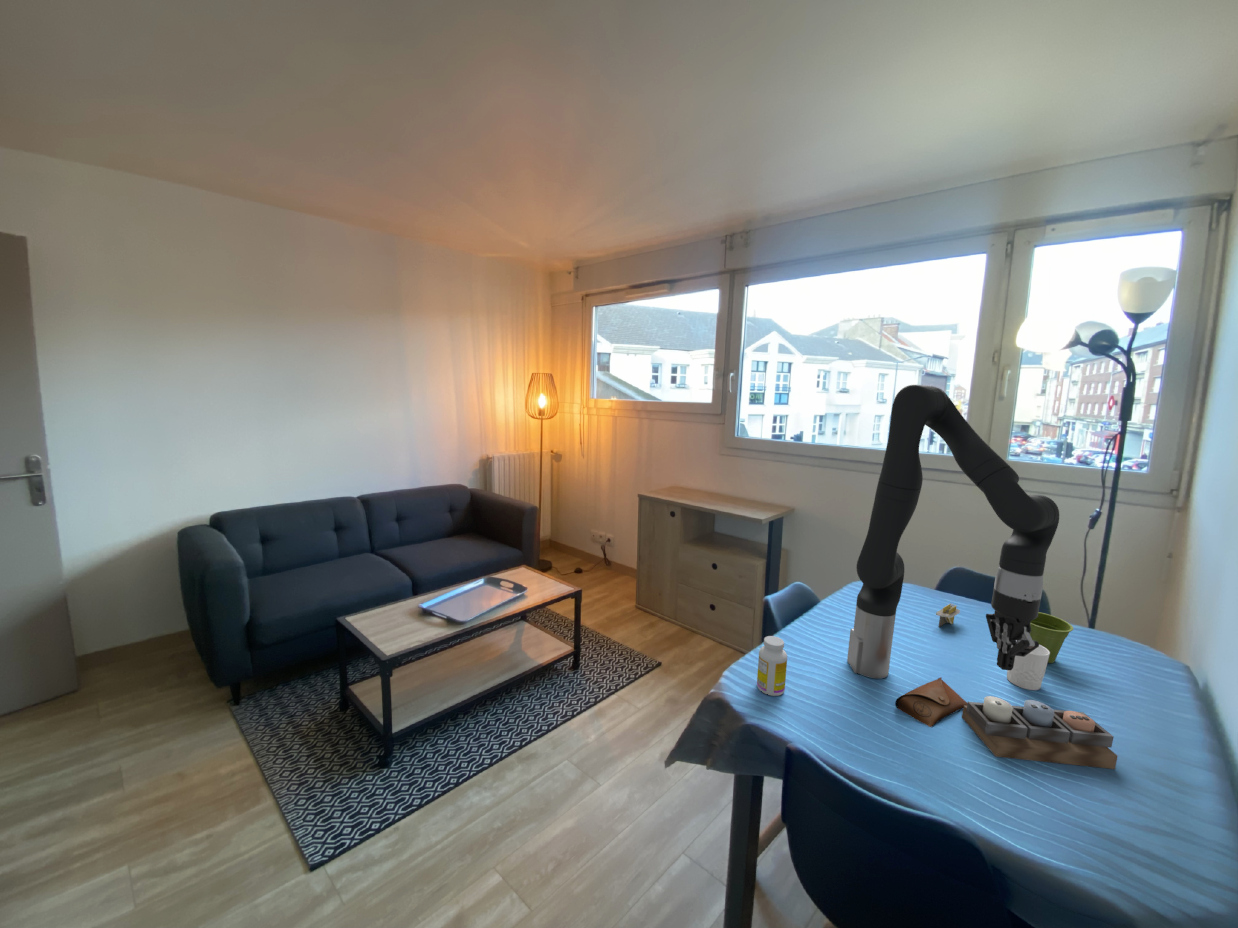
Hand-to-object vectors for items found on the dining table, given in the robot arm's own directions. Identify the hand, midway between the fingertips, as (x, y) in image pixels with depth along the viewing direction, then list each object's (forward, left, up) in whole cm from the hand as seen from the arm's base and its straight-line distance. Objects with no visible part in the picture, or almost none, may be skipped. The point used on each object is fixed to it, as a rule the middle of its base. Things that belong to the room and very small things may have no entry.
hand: (1004, 667), depth 101 cm
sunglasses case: (-8, +9, -17) cm, 21 cm away
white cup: (+21, +23, -16) cm, 35 cm away
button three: (+16, 0, -13) cm, 20 cm away
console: (+8, 0, -16) cm, 18 cm away
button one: (0, 0, -11) cm, 11 cm away
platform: (+18, +53, -17) cm, 59 cm away
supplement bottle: (-45, +10, -16) cm, 49 cm away
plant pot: (+34, +37, -16) cm, 53 cm away
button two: (+8, 0, -11) cm, 14 cm away
